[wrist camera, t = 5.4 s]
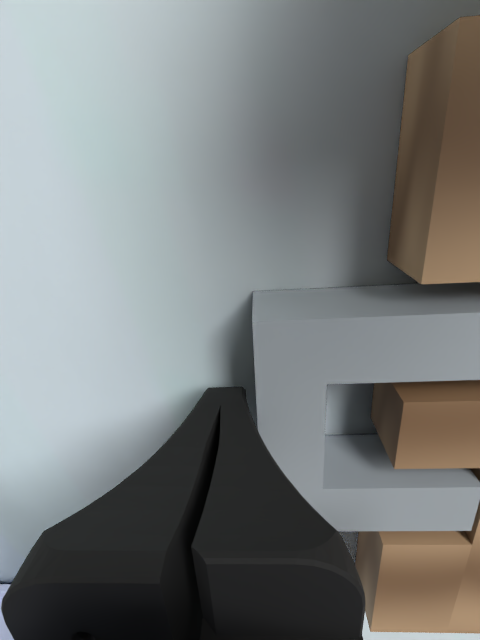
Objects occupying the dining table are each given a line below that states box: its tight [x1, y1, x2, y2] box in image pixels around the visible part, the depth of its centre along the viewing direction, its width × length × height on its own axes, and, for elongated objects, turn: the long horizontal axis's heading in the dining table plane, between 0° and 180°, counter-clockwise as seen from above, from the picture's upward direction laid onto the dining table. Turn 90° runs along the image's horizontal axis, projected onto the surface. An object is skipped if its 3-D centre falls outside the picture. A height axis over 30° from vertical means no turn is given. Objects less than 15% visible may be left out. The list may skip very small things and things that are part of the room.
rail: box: [355, 15, 480, 633], centre depth 12 cm, size 20×4×2 cm, turn 3°
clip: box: [252, 282, 480, 531], centre depth 12 cm, size 8×7×2 cm
